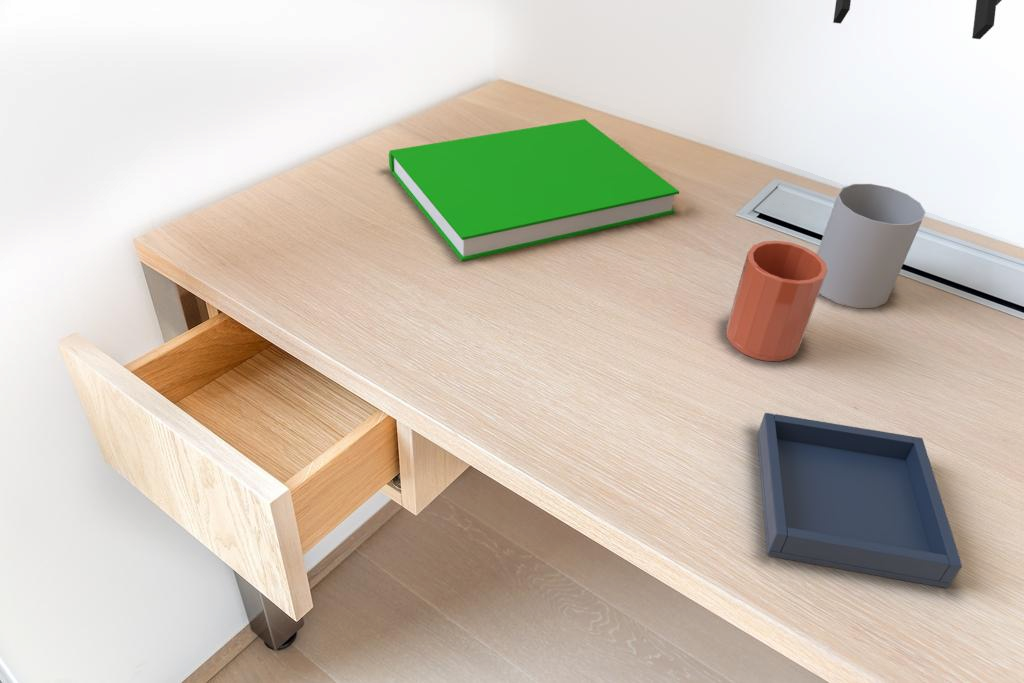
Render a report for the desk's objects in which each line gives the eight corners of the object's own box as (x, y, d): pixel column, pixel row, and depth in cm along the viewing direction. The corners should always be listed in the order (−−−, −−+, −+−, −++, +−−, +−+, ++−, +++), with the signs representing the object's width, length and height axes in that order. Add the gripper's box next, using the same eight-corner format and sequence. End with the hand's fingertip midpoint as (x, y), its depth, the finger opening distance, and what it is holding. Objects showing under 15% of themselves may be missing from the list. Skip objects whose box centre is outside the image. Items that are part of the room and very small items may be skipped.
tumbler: (795, 322, 80) (822, 246, 75) (802, 366, 75) (831, 288, 69) (725, 312, 81) (746, 236, 75) (727, 355, 76) (750, 276, 70)
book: (674, 213, 96) (679, 191, 94) (461, 261, 85) (462, 237, 84) (580, 137, 111) (582, 117, 110) (389, 170, 101) (388, 148, 99)
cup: (807, 296, 84) (836, 213, 78) (810, 257, 90) (838, 177, 84) (891, 315, 82) (928, 232, 76) (888, 274, 88) (922, 193, 82)
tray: (910, 459, 66) (922, 437, 64) (947, 588, 56) (962, 566, 55) (756, 434, 67) (764, 412, 66) (767, 555, 58) (776, 533, 56)
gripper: (1043, -135, 84) (1022, 56, 81) (801, -156, 86) (774, 28, 84) (1088, -190, 76) (1066, 19, 74) (821, -212, 79) (793, -11, 77)
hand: (911, 24), depth 79 cm, fingers open, 13 cm apart
